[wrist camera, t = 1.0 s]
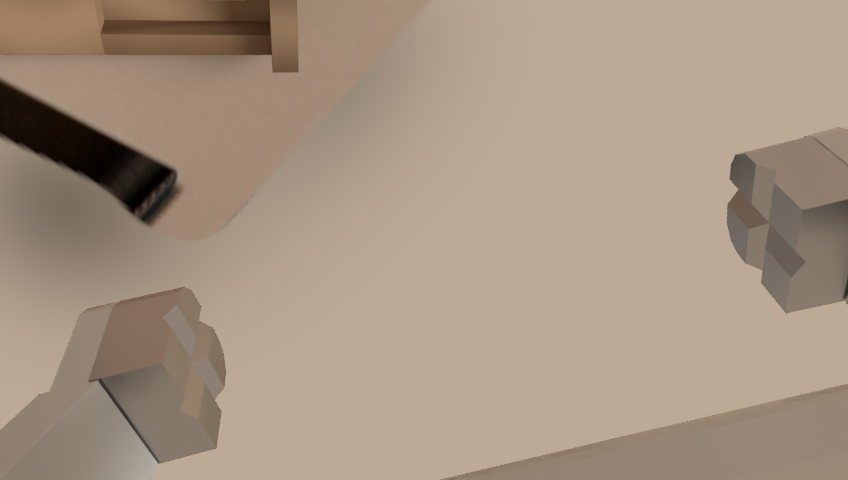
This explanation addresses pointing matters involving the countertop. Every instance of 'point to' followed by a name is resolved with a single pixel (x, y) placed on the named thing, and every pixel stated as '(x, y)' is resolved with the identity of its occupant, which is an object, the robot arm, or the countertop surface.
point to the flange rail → (152, 28)
